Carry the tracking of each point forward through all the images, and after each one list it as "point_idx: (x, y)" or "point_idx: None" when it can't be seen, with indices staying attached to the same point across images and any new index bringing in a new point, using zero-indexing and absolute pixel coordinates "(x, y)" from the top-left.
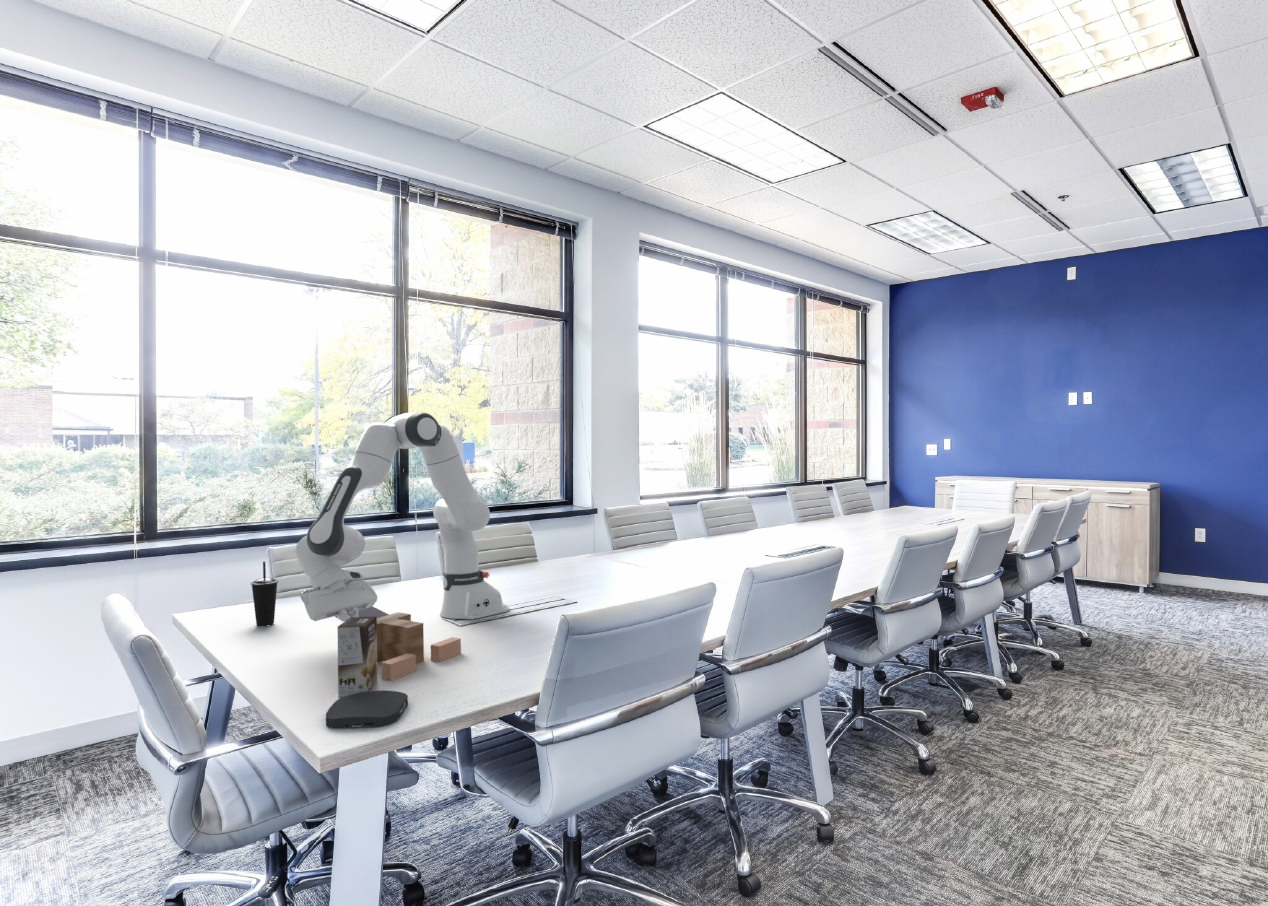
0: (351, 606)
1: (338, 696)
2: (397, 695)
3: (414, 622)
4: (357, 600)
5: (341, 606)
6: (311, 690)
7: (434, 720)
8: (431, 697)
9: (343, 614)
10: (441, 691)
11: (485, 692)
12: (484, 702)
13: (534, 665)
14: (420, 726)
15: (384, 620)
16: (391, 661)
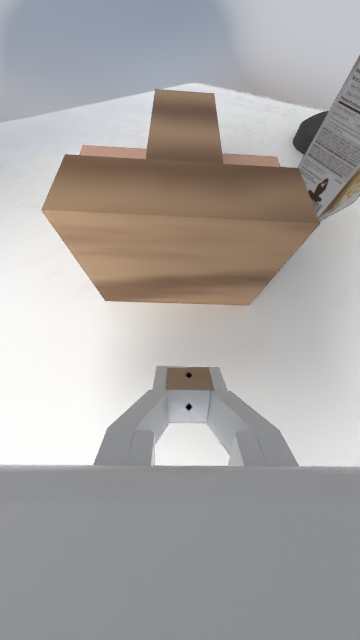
0: (172, 467)
1: (354, 201)
2: (314, 125)
3: (161, 103)
4: (4, 543)
5: (334, 492)
6: None
7: (298, 107)
8: (263, 131)
9: (270, 428)
10: (243, 131)
11: (216, 105)
12: (237, 97)
13: (111, 101)
14: (315, 109)
15: (190, 174)
16: (266, 162)
